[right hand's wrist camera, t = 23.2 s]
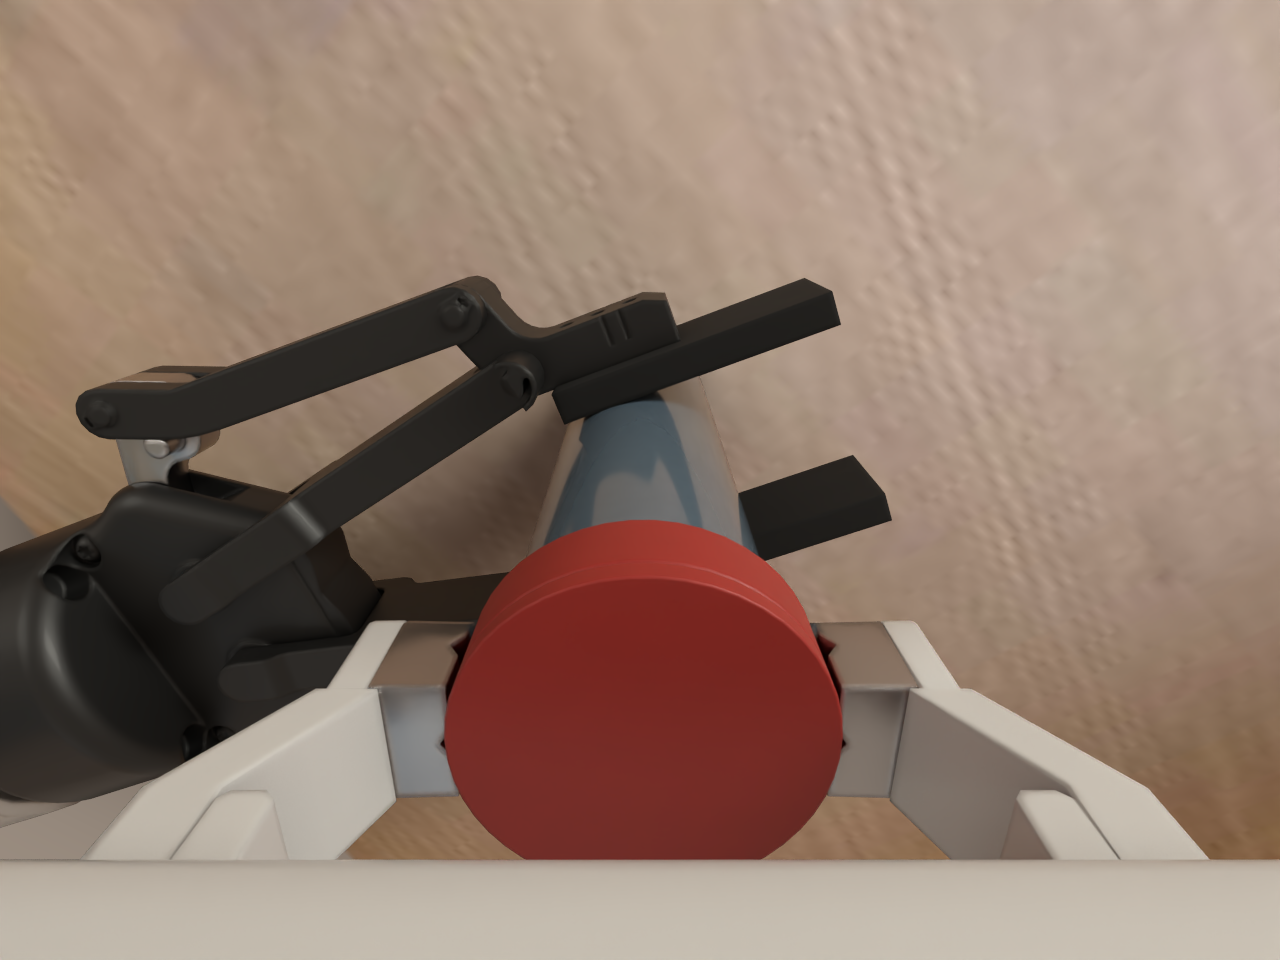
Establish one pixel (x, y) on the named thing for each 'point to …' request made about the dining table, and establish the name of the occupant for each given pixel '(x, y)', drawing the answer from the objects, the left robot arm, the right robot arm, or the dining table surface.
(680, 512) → the jar
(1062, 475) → the dining table surface
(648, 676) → the lid
